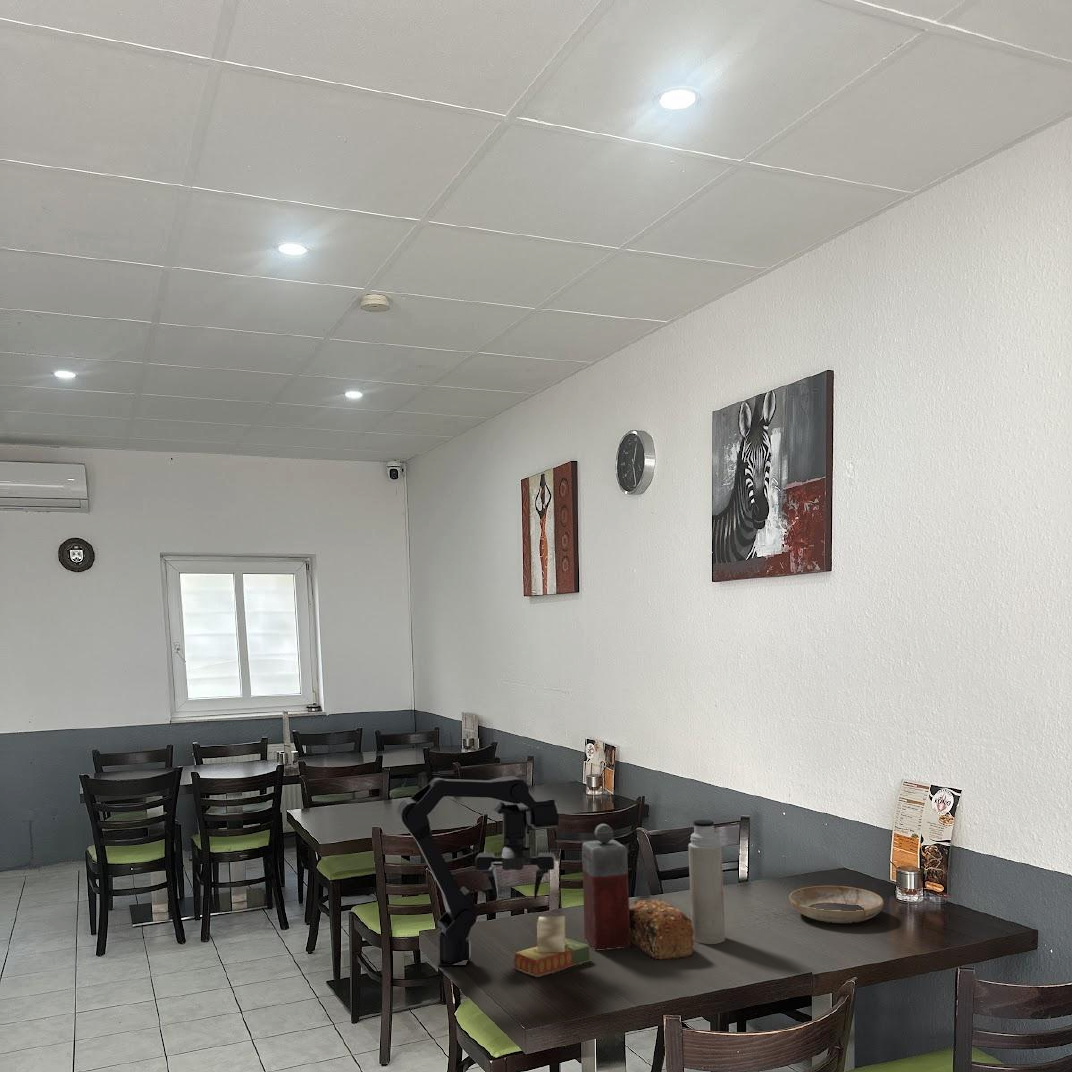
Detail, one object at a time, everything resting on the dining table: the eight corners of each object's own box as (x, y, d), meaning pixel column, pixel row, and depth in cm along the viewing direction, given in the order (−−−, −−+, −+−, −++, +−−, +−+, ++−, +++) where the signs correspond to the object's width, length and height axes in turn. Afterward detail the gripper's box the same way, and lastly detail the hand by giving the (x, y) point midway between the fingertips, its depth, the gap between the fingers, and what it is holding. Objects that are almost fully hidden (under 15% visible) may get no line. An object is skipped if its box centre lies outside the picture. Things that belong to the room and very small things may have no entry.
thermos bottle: (725, 934, 233) (720, 817, 236) (725, 944, 225) (720, 824, 228) (692, 933, 235) (688, 817, 237) (691, 943, 227) (686, 823, 230)
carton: (513, 971, 212) (513, 951, 213) (567, 954, 223) (566, 935, 223) (537, 980, 206) (536, 960, 206) (591, 963, 216) (590, 944, 217)
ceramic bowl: (781, 904, 257) (780, 885, 258) (868, 903, 257) (867, 884, 257) (801, 931, 234) (800, 910, 235) (897, 930, 233) (896, 909, 234)
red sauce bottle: (615, 933, 236) (612, 818, 239) (630, 947, 225) (626, 826, 228) (581, 936, 234) (578, 820, 237) (594, 951, 223) (591, 829, 226)
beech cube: (537, 952, 212) (536, 924, 212) (539, 943, 218) (539, 916, 218) (564, 952, 211) (563, 924, 212) (565, 943, 217) (564, 916, 218)
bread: (695, 957, 218) (694, 912, 219) (652, 962, 215) (651, 917, 216) (663, 933, 235) (661, 891, 236) (623, 938, 233) (621, 896, 234)
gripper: (471, 838, 218) (472, 908, 217) (551, 838, 217) (553, 908, 215) (477, 828, 229) (478, 895, 228) (554, 828, 228) (556, 894, 226)
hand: (516, 898), depth 224 cm, fingers open, 9 cm apart
